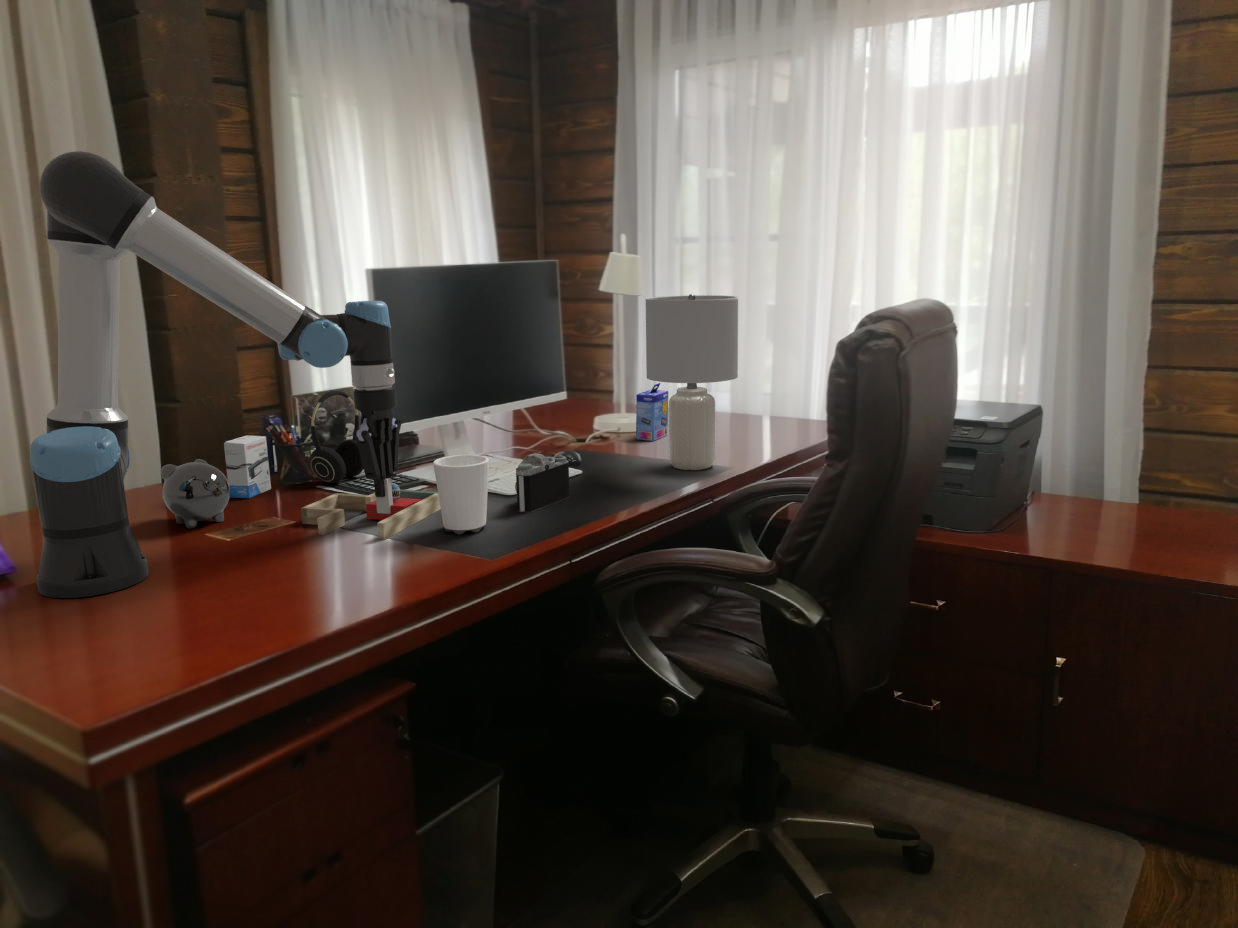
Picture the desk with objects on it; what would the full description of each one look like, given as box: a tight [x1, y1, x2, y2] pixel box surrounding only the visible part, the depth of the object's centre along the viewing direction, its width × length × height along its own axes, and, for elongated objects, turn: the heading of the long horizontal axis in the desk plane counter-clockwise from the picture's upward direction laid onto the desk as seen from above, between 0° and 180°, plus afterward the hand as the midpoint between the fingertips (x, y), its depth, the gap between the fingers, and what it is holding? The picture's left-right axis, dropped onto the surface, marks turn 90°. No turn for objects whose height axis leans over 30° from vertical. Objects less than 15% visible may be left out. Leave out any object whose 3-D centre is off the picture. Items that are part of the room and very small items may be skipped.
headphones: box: [309, 390, 364, 484], centre depth 208 cm, size 9×15×20 cm, turn 155°
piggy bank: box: [160, 458, 230, 530], centre depth 178 cm, size 11×15×12 cm
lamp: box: [645, 293, 739, 471], centre depth 212 cm, size 20×20×39 cm
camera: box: [514, 452, 571, 513], centre depth 187 cm, size 15×7×10 cm, turn 147°
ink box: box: [223, 435, 272, 499], centre depth 199 cm, size 8×5×12 cm, turn 168°
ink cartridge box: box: [635, 382, 669, 442], centre depth 249 cm, size 10×6×14 cm, turn 154°
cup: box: [433, 454, 490, 535], centre depth 170 cm, size 10×10×13 cm
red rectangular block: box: [366, 482, 422, 521], centre depth 179 cm, size 8×7×6 cm
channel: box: [300, 489, 441, 541], centre depth 178 cm, size 22×21×3 cm
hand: (385, 512), depth 177 cm, fingers closed
